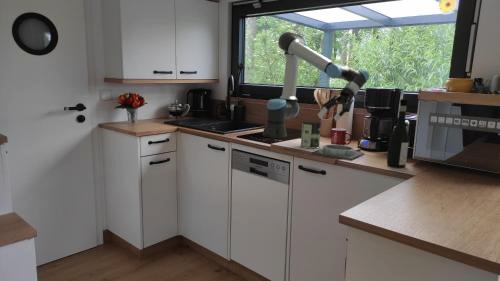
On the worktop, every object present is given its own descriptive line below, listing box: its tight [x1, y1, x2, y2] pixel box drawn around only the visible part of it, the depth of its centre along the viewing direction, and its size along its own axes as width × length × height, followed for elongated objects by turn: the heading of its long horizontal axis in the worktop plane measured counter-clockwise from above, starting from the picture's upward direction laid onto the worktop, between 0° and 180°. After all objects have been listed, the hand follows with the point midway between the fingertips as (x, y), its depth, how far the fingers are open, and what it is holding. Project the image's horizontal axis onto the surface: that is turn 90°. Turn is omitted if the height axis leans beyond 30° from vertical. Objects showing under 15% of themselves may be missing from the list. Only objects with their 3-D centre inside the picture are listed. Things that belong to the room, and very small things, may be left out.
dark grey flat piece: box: [311, 144, 365, 161], centre depth 184 cm, size 20×20×4 cm
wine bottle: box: [386, 98, 410, 169], centre depth 161 cm, size 8×8×30 cm
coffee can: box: [300, 120, 322, 149], centre depth 199 cm, size 10×10×14 cm
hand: (326, 118), depth 202 cm, fingers open, 13 cm apart
